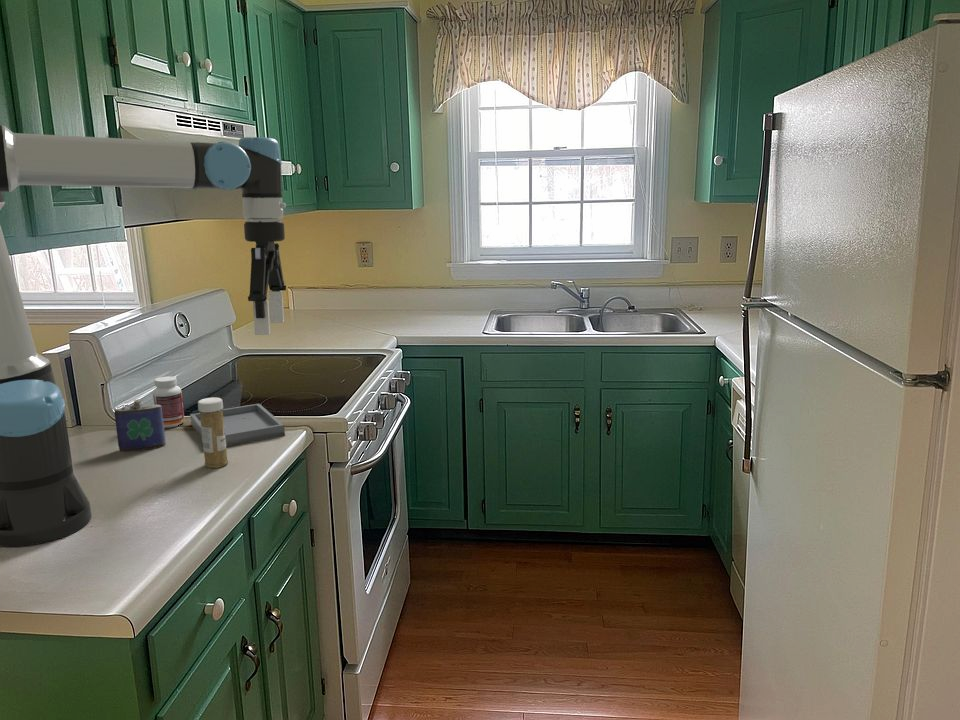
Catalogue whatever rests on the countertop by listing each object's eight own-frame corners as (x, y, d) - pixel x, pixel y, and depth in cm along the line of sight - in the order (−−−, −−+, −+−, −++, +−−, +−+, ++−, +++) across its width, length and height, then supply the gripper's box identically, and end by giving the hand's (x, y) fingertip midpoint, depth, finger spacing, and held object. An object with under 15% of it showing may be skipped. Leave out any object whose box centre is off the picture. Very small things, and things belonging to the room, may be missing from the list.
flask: (166, 443, 164) (160, 395, 162) (166, 447, 162) (160, 399, 159) (119, 448, 161) (112, 400, 158) (118, 453, 158) (111, 404, 156)
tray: (210, 449, 160) (209, 438, 159) (191, 424, 177) (190, 414, 176) (285, 435, 168) (284, 424, 167) (259, 413, 185) (259, 403, 184)
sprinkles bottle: (231, 465, 150) (225, 400, 147) (207, 470, 148) (200, 404, 145) (224, 459, 154) (218, 395, 151) (201, 463, 152) (195, 399, 149)
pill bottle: (190, 422, 178) (185, 377, 175) (167, 430, 173) (162, 383, 170) (173, 418, 181) (168, 374, 179) (150, 425, 176) (145, 380, 174)
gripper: (269, 223, 135) (276, 340, 140) (295, 218, 159) (300, 317, 164) (227, 223, 135) (235, 340, 139) (258, 218, 159) (264, 318, 164)
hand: (270, 328), depth 152 cm, fingers open, 13 cm apart
